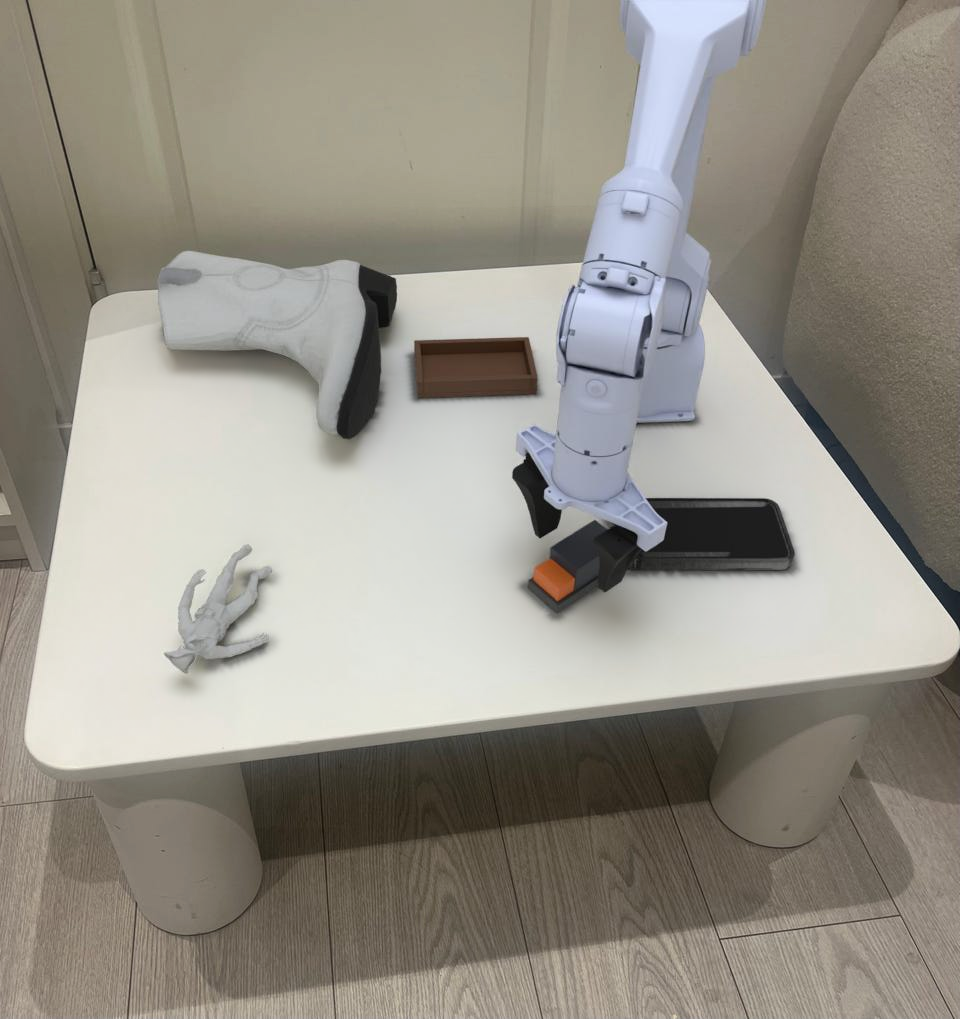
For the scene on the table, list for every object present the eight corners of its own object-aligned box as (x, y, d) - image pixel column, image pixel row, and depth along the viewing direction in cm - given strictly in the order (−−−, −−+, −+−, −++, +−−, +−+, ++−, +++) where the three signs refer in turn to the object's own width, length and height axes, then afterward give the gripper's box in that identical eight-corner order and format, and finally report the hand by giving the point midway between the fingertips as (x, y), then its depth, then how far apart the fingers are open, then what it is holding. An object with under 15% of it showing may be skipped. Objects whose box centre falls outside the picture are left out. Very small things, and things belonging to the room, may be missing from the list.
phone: (612, 497, 92) (776, 497, 92) (611, 506, 92) (773, 506, 93) (624, 561, 86) (798, 561, 87) (622, 570, 87) (795, 570, 87)
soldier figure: (298, 594, 85) (250, 676, 75) (259, 622, 87) (207, 706, 76) (234, 527, 83) (176, 602, 73) (195, 557, 85) (133, 634, 74)
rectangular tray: (527, 352, 109) (528, 336, 108) (536, 394, 104) (537, 377, 103) (414, 356, 108) (414, 340, 107) (417, 398, 103) (417, 381, 102)
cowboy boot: (404, 242, 110) (178, 226, 111) (356, 378, 89) (78, 356, 90) (406, 319, 116) (191, 304, 117) (361, 464, 95) (100, 443, 96)
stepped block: (590, 547, 89) (595, 516, 86) (620, 571, 87) (625, 540, 84) (527, 587, 85) (530, 557, 83) (556, 613, 83) (560, 583, 81)
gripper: (490, 404, 77) (484, 529, 86) (628, 509, 69) (605, 634, 78) (557, 369, 80) (544, 494, 89) (697, 466, 72) (667, 591, 82)
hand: (577, 557), depth 84 cm, fingers open, 7 cm apart
